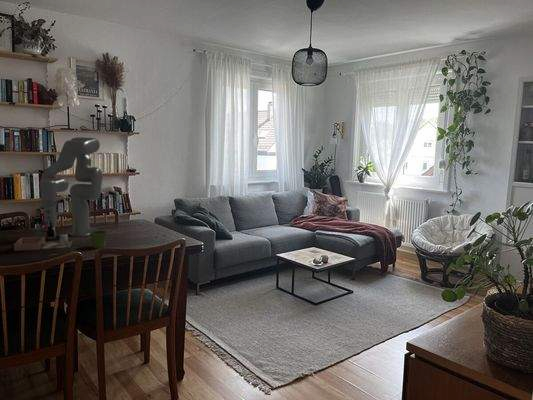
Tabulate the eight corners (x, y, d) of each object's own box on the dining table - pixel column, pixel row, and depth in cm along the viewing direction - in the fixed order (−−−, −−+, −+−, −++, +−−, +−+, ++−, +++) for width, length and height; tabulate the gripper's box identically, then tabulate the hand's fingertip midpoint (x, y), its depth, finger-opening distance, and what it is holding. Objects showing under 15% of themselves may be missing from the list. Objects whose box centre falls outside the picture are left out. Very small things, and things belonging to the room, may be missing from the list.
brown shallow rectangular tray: (45, 243, 226) (44, 236, 225) (39, 250, 211) (39, 243, 211) (21, 244, 222) (21, 237, 221) (14, 251, 207) (13, 244, 207)
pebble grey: (68, 244, 224) (68, 234, 224) (67, 245, 221) (67, 235, 220) (60, 244, 223) (60, 234, 222) (59, 246, 219) (59, 236, 219)
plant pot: (93, 245, 226) (92, 230, 224) (110, 245, 226) (110, 230, 225) (87, 249, 216) (86, 233, 215) (105, 249, 217) (104, 234, 216)
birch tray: (72, 242, 229) (72, 240, 229) (69, 248, 217) (69, 246, 216) (45, 244, 225) (45, 242, 225) (40, 250, 212) (40, 247, 212)
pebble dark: (56, 236, 223) (55, 226, 222) (55, 238, 219) (54, 228, 218) (48, 236, 222) (47, 227, 221) (46, 238, 218) (46, 228, 217)
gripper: (54, 205, 210) (56, 239, 214) (59, 200, 226) (61, 231, 229) (38, 206, 208) (40, 240, 211) (44, 200, 223) (46, 232, 227)
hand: (51, 235), depth 220 cm, fingers closed on pebble dark, 4 cm apart
